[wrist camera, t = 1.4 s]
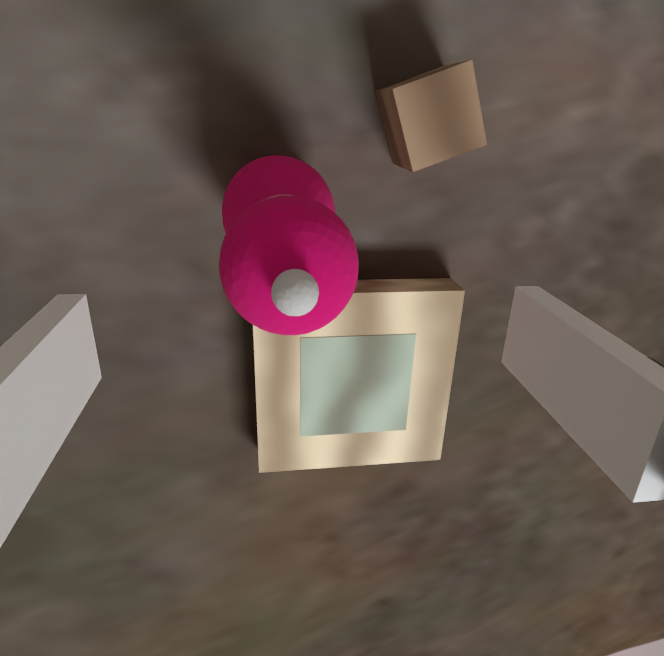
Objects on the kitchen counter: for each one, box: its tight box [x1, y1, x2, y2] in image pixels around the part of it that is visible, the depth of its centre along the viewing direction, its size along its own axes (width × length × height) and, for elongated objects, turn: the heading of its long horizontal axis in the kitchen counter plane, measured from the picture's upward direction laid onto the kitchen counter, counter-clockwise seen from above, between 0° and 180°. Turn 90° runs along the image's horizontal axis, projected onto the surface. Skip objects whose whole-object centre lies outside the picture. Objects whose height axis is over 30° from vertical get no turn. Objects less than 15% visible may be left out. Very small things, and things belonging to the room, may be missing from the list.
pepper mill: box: [219, 155, 359, 335], centre depth 27 cm, size 7×7×20 cm
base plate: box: [253, 278, 465, 473], centre depth 41 cm, size 16×16×3 cm
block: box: [375, 60, 487, 172], centre depth 32 cm, size 5×5×5 cm
